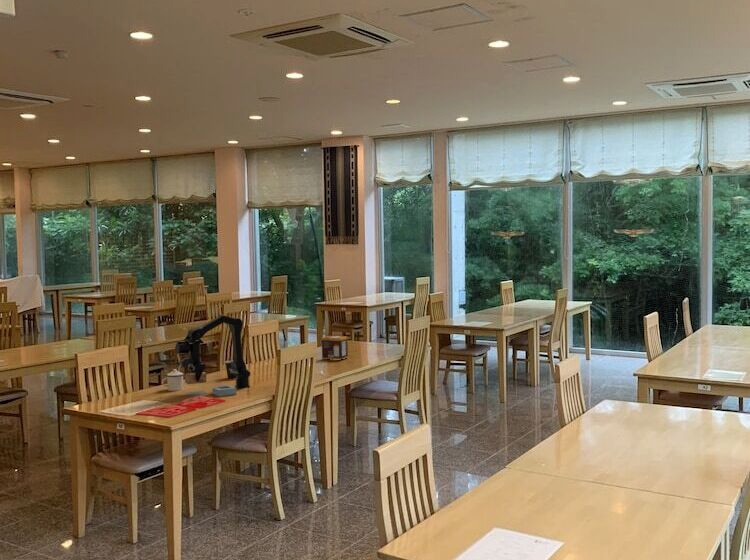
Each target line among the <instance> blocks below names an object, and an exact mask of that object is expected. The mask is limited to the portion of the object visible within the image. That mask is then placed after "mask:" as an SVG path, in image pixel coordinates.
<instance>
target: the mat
mask: <svg viewBox="0 0 750 560" xmlns="http://www.w3.org/2000/svg"><path fill="white" fill-rule="evenodd" d="M185 394H187V395H188V396H189V397H193V396H194V397H196V396H204V395H208V394H209V393H208V392H206V391H204V390H198V391H197V390H195V391H188V392H185Z"/></svg>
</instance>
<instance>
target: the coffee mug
mask: <svg viewBox="0 0 750 560" xmlns="http://www.w3.org/2000/svg"><path fill="white" fill-rule="evenodd" d="M224 362H225V368H226V369H225V370H226V375H227V379H228V378H229V379H228V380H234V379H233V378H236V376H235V373H234V372H233V371H232V369H231V362H233V360H226V361H224Z"/></svg>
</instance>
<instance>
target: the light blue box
mask: <svg viewBox="0 0 750 560" xmlns="http://www.w3.org/2000/svg"><path fill="white" fill-rule="evenodd" d="M211 388H212V395H214V396H216V397H219V398H221V397H228V396H235V395H236V396H237V395H238V394H237V387H236V386H233V385H231V384H226V385H218V386H212V387H211Z"/></svg>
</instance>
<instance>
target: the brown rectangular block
mask: <svg viewBox="0 0 750 560" xmlns="http://www.w3.org/2000/svg"><path fill="white" fill-rule="evenodd" d="M207 382H208V381H207V372H204V371H203V373H202V375H201V377H200V379H199V381H198V382H197V381H196V376H195V373H191V372H188V373H187V372H186V373H184V383H185V384H187V385H194V384H196V385H197V384H205V383H207Z"/></svg>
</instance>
